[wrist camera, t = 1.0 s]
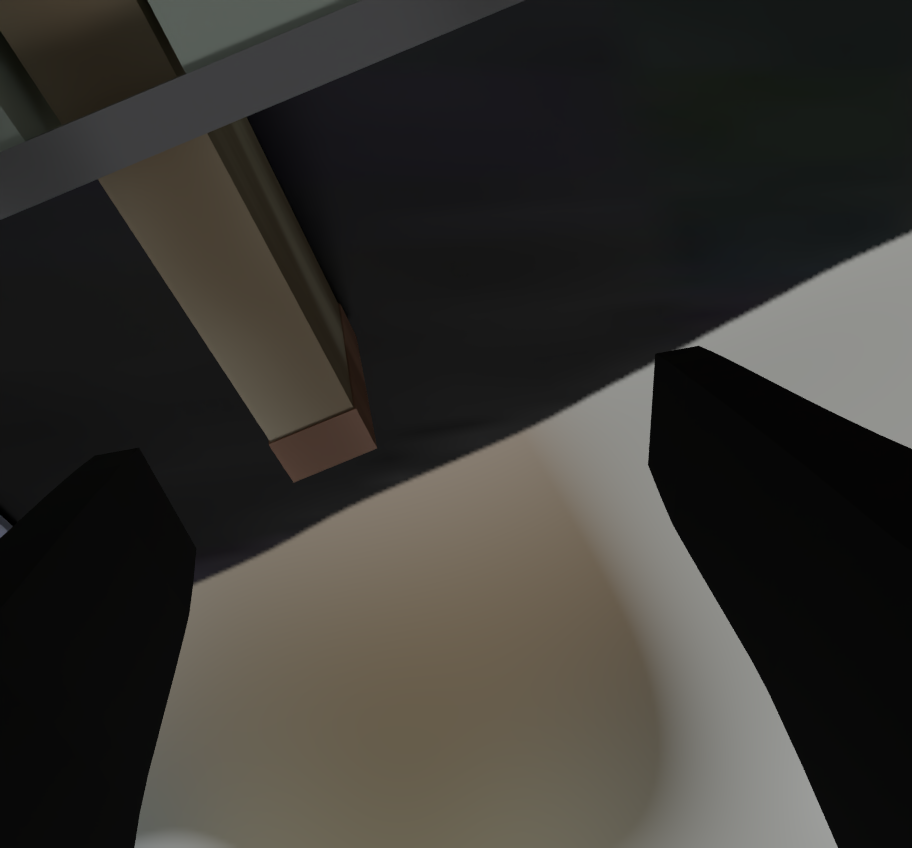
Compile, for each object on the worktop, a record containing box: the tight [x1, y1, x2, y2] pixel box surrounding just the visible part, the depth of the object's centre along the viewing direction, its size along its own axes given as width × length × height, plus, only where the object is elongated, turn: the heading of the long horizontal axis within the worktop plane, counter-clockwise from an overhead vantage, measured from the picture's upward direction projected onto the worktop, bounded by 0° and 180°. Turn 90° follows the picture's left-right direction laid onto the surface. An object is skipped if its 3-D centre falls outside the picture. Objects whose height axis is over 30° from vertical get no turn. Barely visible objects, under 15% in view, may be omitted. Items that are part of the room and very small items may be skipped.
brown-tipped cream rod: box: [0, 0, 377, 482], centre depth 13 cm, size 2×14×6 cm, turn 19°
